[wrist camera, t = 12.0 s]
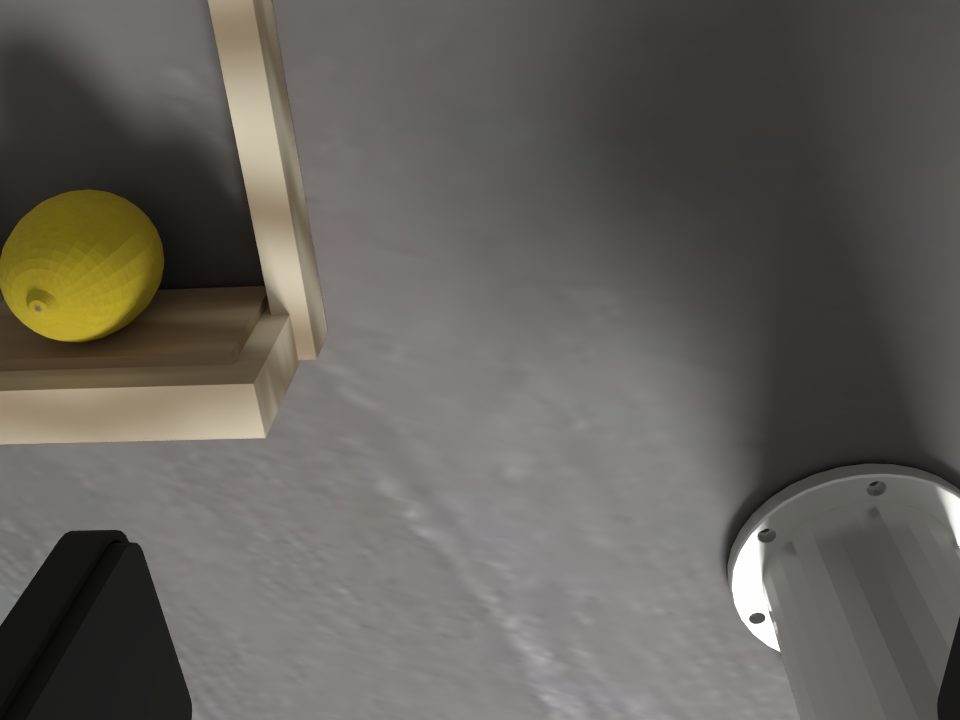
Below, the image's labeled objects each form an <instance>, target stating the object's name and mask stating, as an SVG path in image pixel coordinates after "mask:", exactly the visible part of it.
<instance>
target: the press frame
mask: <svg viewBox="0 0 960 720" xmlns="http://www.w3.org/2000/svg"><path fill="white" fill-rule="evenodd" d="M208 4H209V9H210V14H211V19H212V24H213V29H214V33H215V38H216V43H217V48H218V53H219V58H220V63H221V68H222V73H223V78H224V83H225V88H226V93H227V98H228V103H229V108H230V113H231V118H232V123H233V128H234V133H235V138H236V143H237V148H238V153H239V158H240V163H241V168H242V173H243V178H244V183H245V188H246V193H247V198H248V203H249V208H250V213H251V218H252V223H253V228H254V232H255V237H256V242H257V247H258V252H259V257H260V262H261V267H262V272H263V277H264V282H265V286H248V287H222V288H195V289H169V290H157V291H156V293H155V295H154V297H153V299H152V300H151V302H150V304H149V305H148V306H147V307H146V308H145V309H144V310H143V311H142V312H141V313H140V314H139V315H138V316H137V317H136V318H135V319H134V320H133V321H132V322H131V323H129V324H128V325H127V326H125V327H123V328H121V329H119V330H117V331H115V332H114V333H112V334H110V335H108V336H106V337H103V338H100V339H95V340H90V341H85V342H63V341H58V340H54V339H50V338H47V337H45V336H43V335H41V334H39V333H37V332H34V331H33V330H32V329H30V328H29V327H28V326H26V325H25V324H23V323H22V322H21V321H20V320H19V319H18V318H17V317H16V316H15V314H14V313H13V312H12V311H11V309H10V308H9V306H8V304H7V303H6V301H5V299H4V297H3V294H2V291H1V288H0V444H32V443H74V442H116V441H157V440H199V439H240V438H266V436H267V434H268V431H269V429H270V427H271V425H272V423H273V420H274V418H275V416H276V414H277V412H278V409H279V407H280V405H281V403H282V401H283V398H284V396H285V394H286V392H287V390H288V388H289V385H290V383H291V381H292V379H293V377H294V374H295V372H296V370H297V368H298V366H299V363H300V361H301V360H317V357H318V355H319V353H320V350H321V348H322V346H323V343H324V341H325V339H326V336H327V334H328V332H327V326H326V320H325V314H324V308H323V302H322V296H321V290H320V284H319V278H318V272H317V266H316V261H315V255H314V249H313V243H312V237H311V231H310V225H309V219H308V213H307V207H306V201H305V195H304V189H303V183H302V177H301V171H300V165H299V160H298V154H297V148H296V142H295V136H294V130H293V124H292V118H291V112H290V106H289V100H288V94H287V88H286V82H285V76H284V70H283V65H282V59H281V53H280V47H279V41H278V35H277V29H276V23H275V17H274V11H273V5H272V0H208Z"/></svg>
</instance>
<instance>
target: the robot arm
mask: <svg viewBox="0 0 960 720" xmlns="http://www.w3.org/2000/svg"><path fill="white" fill-rule="evenodd" d="M727 570H728V585H729V589H730V593H731V597H732V601H733V604H734V607H735V609H736V611H737V613H738V615H739V618H740V619H741V621H742V622H743V623H744V624H745V626H746V627H747V628H748V629H749V631H750V632H751V633H752V634H753V635H755V636H756V637H757V638H758V639H760V640H761V641H762V642H763V643H765V644H766V645H768V646H770V647H772V648H773V649H775V650H777V651H779V652H780V653H781V656H782V660H783V663H784V666H785V670H786V673H787V676H788V680H789V683H790V686H791V690H792V693H793V696H794V699H795V703H796V706H797V709H798V713H799V716H800V719H801V720H960V490H959V489H958V488H957V487H955V486H954V485H952V484H950V483H949V482H947V481H945V480H944V479H942V478H941V477H939V476H936V475H933V474H931V473H928V472H925V471H922V470H920V469H917V468H911V467H906V466H900V465H894V464H860V465H852V466H845V467H838V468H835V469H831V470H828V471H824V472H821V473H817V474H814V475H812V476H809V477H807V478H805V479H803V480H800V481H798V482H796V483H794V484H791V485H790V486H788V487H786V488H785V489H783V490H782V491H780V492H779V493H777V494H776V495H774V496H772V497H771V498H770V499H768V500H767V501H766V502H765V503H764V504H763V505H762V506H761V507H760V508H758V509H757V510H756V511H755V512H754V513H753V514H752V515H751V517H750V518H749V519H748V521H747V522H746V523H745V524H744V526H743V527H742V528H741V530H740V531H739V533H738V535H737V537H736V540H735V542H734V544H733V546H732V548H731V552H730V556H729V561H728V566H727ZM191 719H192V703H191V698H190V695H189V692H188V689H187V686H186V683H185V679H184V676H183V673H182V670H181V667H180V664H179V661H178V658H177V655H176V652H175V649H174V646H173V643H172V640H171V636H170V633H169V630H168V627H167V624H166V621H165V618H164V615H163V612H162V609H161V606H160V603H159V600H158V597H157V594H156V590H155V587H154V584H153V581H152V578H151V575H150V572H149V569H148V566H147V563H146V560H145V557H144V554H143V551H142V549H141V547H140V546H139V545H138V544H137V543H129V541H128V539H127V537H126V535H125V534H124V533H123V532H122V531H118V530H92V531H70V532H68V533H65V534H64V536H63V537H62V538H61V539H60V540H59V541H58V543H57V544H56V546H55V547H54V549H53V550H52V552H51V553H50V554H49V556H48V557H47V559H46V560H45V562H44V563H43V565H42V566H41V568H40V569H39V570H38V572H37V573H36V575H35V576H34V578H33V579H32V581H31V582H30V584H29V585H28V587H27V588H26V589H25V591H24V592H23V594H22V595H21V597H20V598H19V600H18V601H17V603H16V604H15V605H14V607H13V608H12V610H11V611H10V613H9V614H8V616H7V617H6V619H5V620H4V622H3V623H2V624H1V626H0V720H191Z"/></svg>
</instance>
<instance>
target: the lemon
mask: <svg viewBox="0 0 960 720" xmlns="http://www.w3.org/2000/svg"><path fill="white" fill-rule="evenodd" d="M163 268H164V253H163V245H162V242H161V239H160V237H159V234H158V231H157V229H156V228H155V226H154V225H153V223H152V222H151V220H150V219H149V217H148V216H147V215H146V214H145V213H144V212H143V211H142V210H141V209H140V208H139V207H137V206H136V205H134V204H133V203H131V202H130V201H128V200H127V199H125V198H123V197H120V196H117V195H115V194H112V193H110V192H105V191H98V190H90V189H88V190H78V191H69V192H65V193H62V194H60V195H57V196H55V197H52V198H50V199H47V200H45V201H43V202H41V203H40V204H38V205H37V206H36V207H35V208H34V209H32V210H31V211H30V212H29V213H28V214H26V215H25V216H24V217H23V218H22V219H21V220H20V221H19V222H18V224H17V225H16V227H15V228H14V230H13V231H12V233H11V235H10V236H9V238H8V239H7V241H6V243H5V245H4V247H3V250H2V254H1V258H0V288H1V291H2V294H3V297H4V299H5V301H6V303H7V304H8V306H9V308H10V309H11V311H12V312H13V313H14V314H15V316H16V317H17V318H18V319H19V320H20V321H21V322H22V323H23V324H25V325H26V326H28V327H29V328H30V329H32V330H33V331H34V332H37V333H39V334H41V335H43V336H45V337H47V338H50V339H54V340H58V341H63V342H85V341H90V340H95V339H100V338H103V337H106V336H108V335H110V334H112V333H114V332H115V331H117V330H119V329H121V328H123V327H125V326H127V325H128V324H129V323H131V322H132V321H133V320H134V319H135V318H136V317H137V316H138V315H139V314H140V313H141V312H142V311H143V310H144V309H145V308H146V307H147V306H148V305H149V304H150V302H151V300H152V299H153V297H154V295H155V293H156V291H157V289H158V287H159V285H160V283H161V279H162V274H163Z"/></svg>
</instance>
